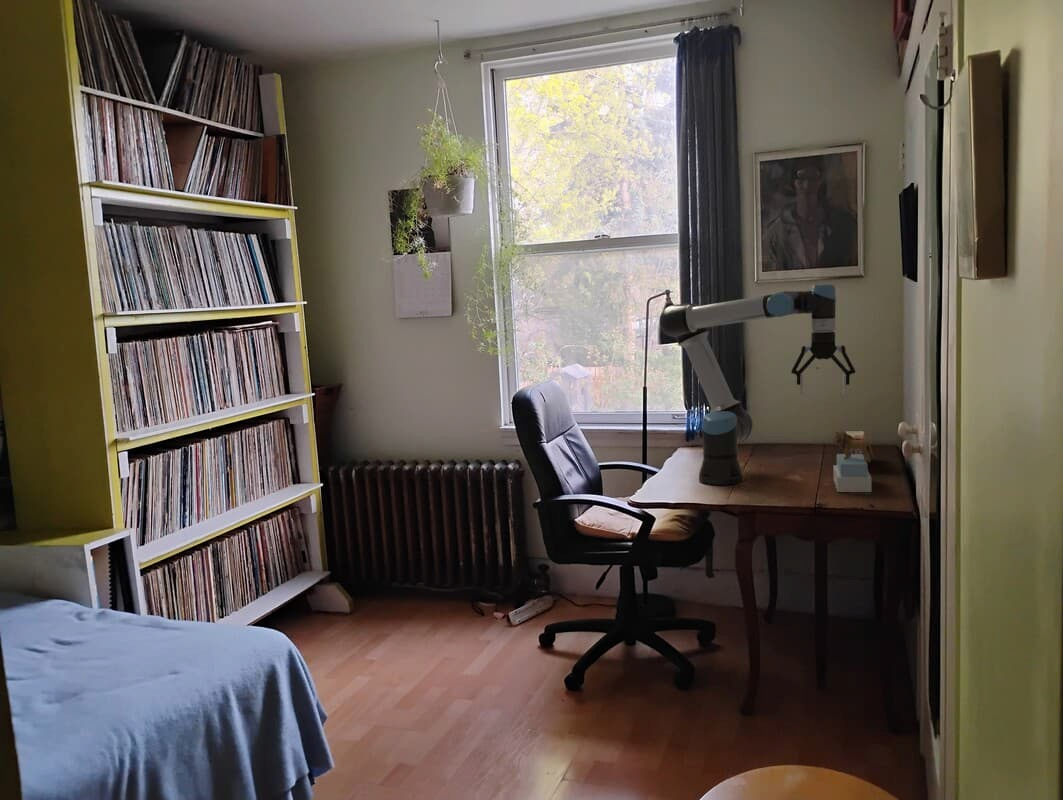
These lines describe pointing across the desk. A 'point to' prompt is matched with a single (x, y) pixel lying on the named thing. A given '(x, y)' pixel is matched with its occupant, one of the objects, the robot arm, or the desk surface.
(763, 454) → the desk surface
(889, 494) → the desk surface
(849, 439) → the lion figurine
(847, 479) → the two-tone layered slab
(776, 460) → the desk surface
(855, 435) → the stack of blocks
